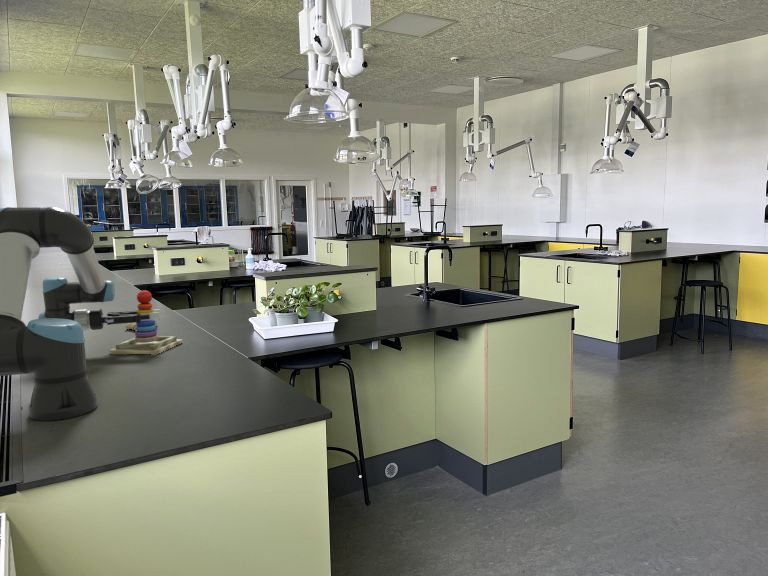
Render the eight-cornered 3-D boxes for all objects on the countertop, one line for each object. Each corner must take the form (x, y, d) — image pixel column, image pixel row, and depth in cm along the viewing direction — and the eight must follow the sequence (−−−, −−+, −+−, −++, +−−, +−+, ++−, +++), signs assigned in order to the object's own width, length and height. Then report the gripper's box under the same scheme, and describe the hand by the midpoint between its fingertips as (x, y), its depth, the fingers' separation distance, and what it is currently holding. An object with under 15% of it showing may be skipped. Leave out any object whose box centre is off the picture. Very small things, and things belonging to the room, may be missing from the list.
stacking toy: (157, 342, 203) (154, 291, 200) (134, 344, 200) (129, 292, 197) (159, 337, 210) (155, 288, 207) (136, 339, 208) (132, 289, 205)
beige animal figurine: (156, 324, 249) (160, 330, 241) (127, 333, 243) (131, 339, 235) (151, 308, 247) (155, 313, 238) (122, 317, 241) (125, 323, 233)
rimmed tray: (155, 355, 195) (155, 346, 195) (109, 354, 198) (108, 345, 198) (182, 343, 213) (182, 335, 213) (139, 342, 216) (139, 334, 216)
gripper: (94, 325, 207) (161, 319, 215) (87, 335, 190) (160, 329, 197) (92, 305, 206) (159, 300, 214) (84, 313, 188) (158, 308, 196)
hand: (159, 314), depth 206 cm, fingers closed on stacking toy, 6 cm apart
